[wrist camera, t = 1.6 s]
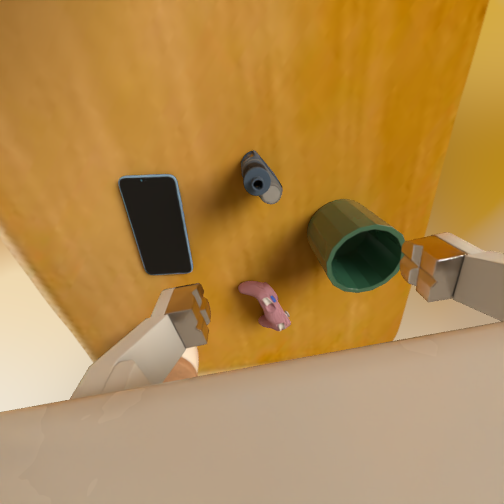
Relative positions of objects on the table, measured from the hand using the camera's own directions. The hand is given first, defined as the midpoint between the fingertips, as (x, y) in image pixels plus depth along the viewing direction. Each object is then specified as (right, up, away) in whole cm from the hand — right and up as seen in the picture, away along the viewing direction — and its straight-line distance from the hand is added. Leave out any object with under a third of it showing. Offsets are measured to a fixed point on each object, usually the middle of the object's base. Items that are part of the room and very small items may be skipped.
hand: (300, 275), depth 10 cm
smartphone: (-15, +4, +24) cm, 29 cm away
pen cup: (+11, +4, +26) cm, 28 cm away
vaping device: (-1, +12, +21) cm, 24 cm away
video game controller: (0, -7, +32) cm, 32 cm away
